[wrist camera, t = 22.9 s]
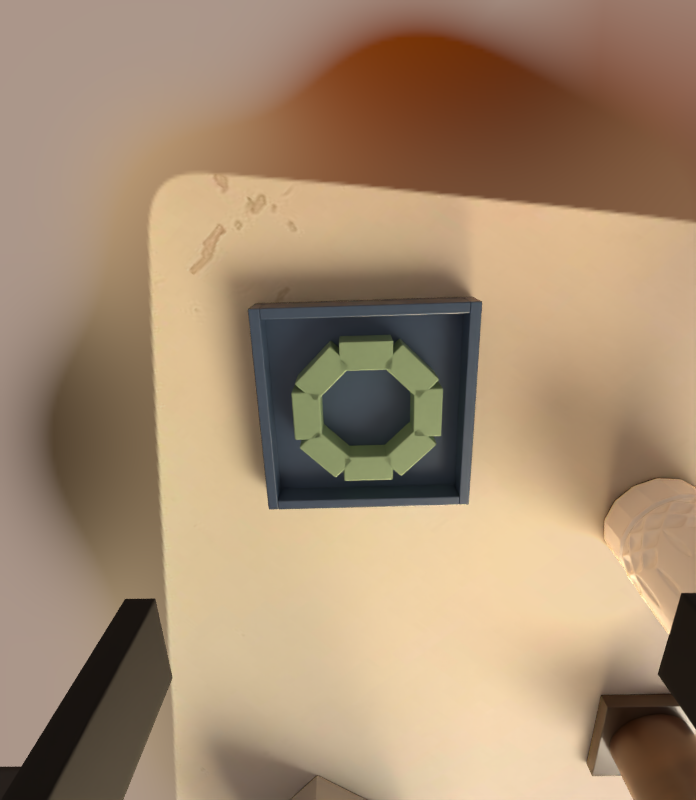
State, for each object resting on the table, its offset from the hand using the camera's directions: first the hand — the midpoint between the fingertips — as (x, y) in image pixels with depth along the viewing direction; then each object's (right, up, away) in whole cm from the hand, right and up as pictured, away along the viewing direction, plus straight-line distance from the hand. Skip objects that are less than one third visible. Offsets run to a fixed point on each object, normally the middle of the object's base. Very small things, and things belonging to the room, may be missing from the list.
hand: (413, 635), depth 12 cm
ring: (-1, +6, +16) cm, 17 cm away
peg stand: (+22, -21, +25) cm, 40 cm away
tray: (-1, +6, +16) cm, 17 cm away
